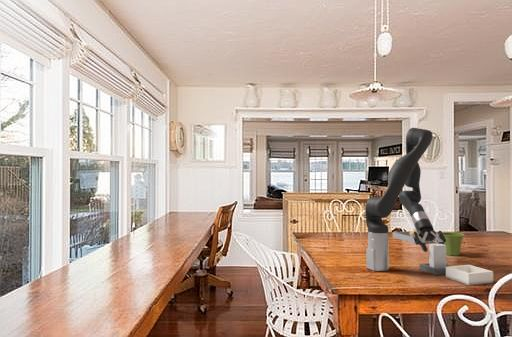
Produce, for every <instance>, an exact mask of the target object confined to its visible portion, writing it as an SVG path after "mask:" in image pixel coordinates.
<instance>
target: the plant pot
mask: <svg viewBox="0 0 512 337" xmlns="http://www.w3.org/2000/svg"><path fill="white" fill-rule="evenodd" d="M442 233H443V235H444V237H445V239H446V242H445V243H444V245H446V256H454V257H457V256H460V254H461V248H462V242H463V241H462V240H463V236H465V234H464V233H461V232H454V231H452V232H451V231H447V232H446V231H445V232H442Z"/></svg>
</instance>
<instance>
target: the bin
mask: <svg viewBox="0 0 512 337" xmlns="http://www.w3.org/2000/svg"><path fill="white" fill-rule="evenodd" d="M445 278H447V279H450V280H452V281H455V282H459V283H462V284H464V285H467V286H473V285H482V284H491V283H494V271H493V270H489V269H486V268H482V267H479V266H475V265H473V264H463V265H461V264H460V265H450V266H449V267H446V274H445Z"/></svg>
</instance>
